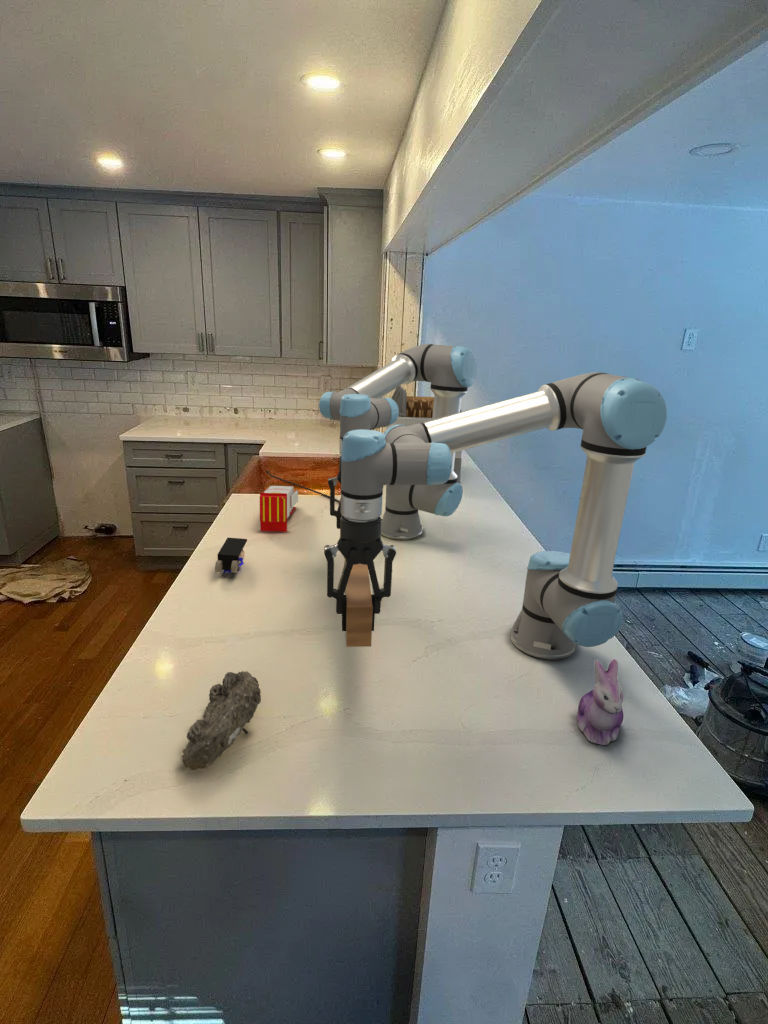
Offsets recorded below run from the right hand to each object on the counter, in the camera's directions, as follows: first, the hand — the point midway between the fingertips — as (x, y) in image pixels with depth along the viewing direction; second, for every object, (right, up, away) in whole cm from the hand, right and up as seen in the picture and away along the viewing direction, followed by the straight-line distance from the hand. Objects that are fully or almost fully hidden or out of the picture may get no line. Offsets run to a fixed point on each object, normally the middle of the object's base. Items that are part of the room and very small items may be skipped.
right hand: (357, 627), depth 111 cm
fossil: (-24, -18, -6) cm, 30 cm away
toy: (-34, +20, +98) cm, 106 cm away
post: (-2, +7, +22) cm, 23 cm away
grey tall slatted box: (+22, +41, +164) cm, 171 cm away
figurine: (+47, -20, -2) cm, 51 cm away
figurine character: (-40, +5, +57) cm, 69 cm away
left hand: (-3, +15, +43) cm, 46 cm away
